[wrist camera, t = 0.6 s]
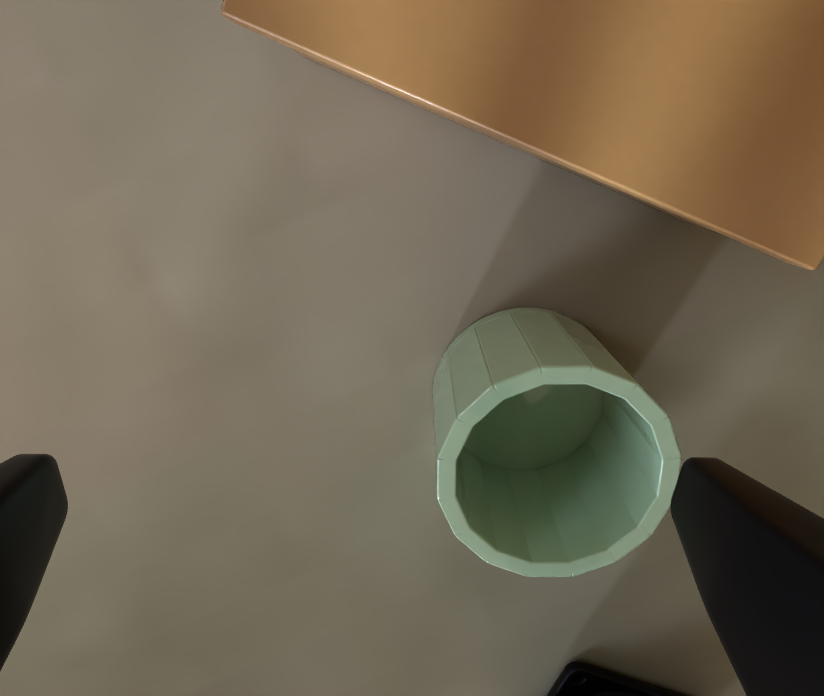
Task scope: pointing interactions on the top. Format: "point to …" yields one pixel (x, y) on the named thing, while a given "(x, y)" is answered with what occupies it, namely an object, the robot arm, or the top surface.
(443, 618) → the top surface
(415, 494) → the top surface
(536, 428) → the ramekin
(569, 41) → the shelf
